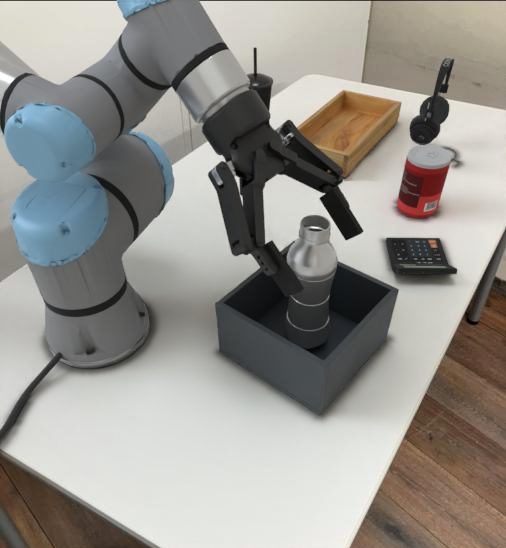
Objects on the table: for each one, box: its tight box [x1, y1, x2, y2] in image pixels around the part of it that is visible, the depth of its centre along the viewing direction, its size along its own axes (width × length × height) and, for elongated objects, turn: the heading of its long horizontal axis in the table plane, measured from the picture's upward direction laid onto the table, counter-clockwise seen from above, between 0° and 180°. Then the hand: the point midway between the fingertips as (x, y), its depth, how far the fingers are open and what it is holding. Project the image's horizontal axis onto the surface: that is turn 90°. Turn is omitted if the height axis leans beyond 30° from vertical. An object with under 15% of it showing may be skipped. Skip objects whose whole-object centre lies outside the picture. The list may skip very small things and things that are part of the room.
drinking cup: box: [246, 47, 274, 112], centre depth 112 cm, size 8×8×20 cm
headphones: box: [408, 57, 460, 167], centre depth 104 cm, size 15×11×20 cm
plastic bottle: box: [284, 214, 339, 349], centre depth 68 cm, size 6×7×20 cm
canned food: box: [396, 144, 453, 219], centre depth 95 cm, size 8×8×11 cm
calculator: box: [385, 237, 458, 275], centre depth 87 cm, size 9×12×3 cm
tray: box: [296, 89, 402, 178], centre depth 116 cm, size 31×15×6 cm, turn 149°
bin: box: [214, 240, 400, 416], centre depth 72 cm, size 18×18×10 cm
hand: (326, 263), depth 62 cm, fingers open, 13 cm apart
